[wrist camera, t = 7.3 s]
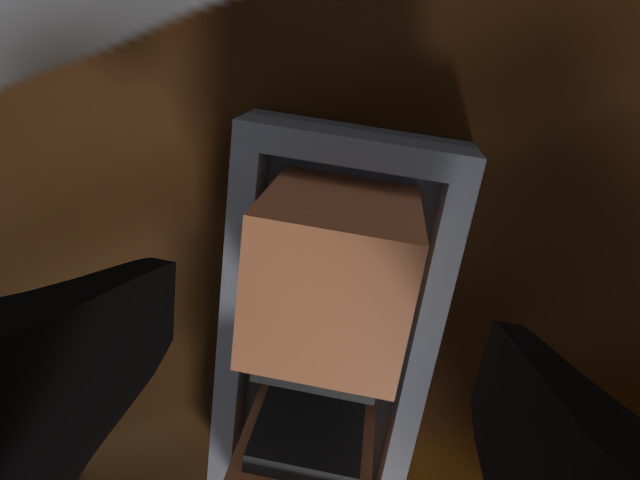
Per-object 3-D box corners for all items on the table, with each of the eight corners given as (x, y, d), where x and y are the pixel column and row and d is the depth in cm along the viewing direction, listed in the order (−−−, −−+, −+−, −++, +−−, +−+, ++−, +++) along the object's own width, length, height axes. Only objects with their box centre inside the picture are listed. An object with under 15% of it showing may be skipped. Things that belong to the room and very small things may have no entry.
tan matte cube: (287, 165, 16) (243, 214, 11) (418, 186, 16) (429, 247, 11) (272, 299, 18) (228, 390, 13) (391, 320, 17) (389, 422, 13)
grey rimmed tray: (255, 108, 16) (184, 141, 11) (473, 142, 16) (515, 195, 10) (225, 454, 22) (166, 598, 16) (390, 488, 21) (388, 649, 15)
